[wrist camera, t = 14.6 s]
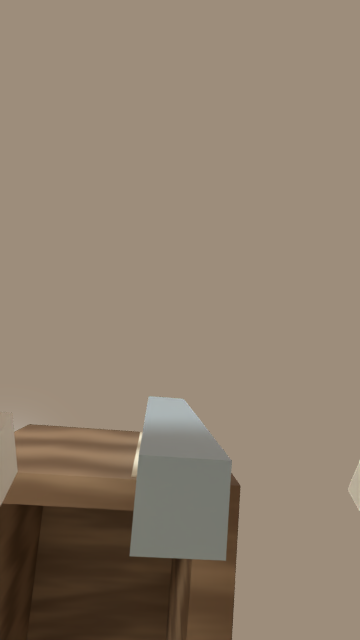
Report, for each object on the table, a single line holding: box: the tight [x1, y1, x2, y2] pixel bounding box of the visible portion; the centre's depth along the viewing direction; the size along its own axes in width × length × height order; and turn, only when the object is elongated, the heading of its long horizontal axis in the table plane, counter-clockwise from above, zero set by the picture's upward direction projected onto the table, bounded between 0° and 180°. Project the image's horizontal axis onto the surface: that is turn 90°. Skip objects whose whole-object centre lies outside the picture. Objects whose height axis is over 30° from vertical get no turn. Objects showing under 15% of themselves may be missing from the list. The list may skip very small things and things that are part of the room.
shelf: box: [0, 424, 240, 640], centre depth 29 cm, size 16×20×30 cm
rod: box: [130, 396, 232, 561], centre depth 27 cm, size 25×4×4 cm, turn 4°
